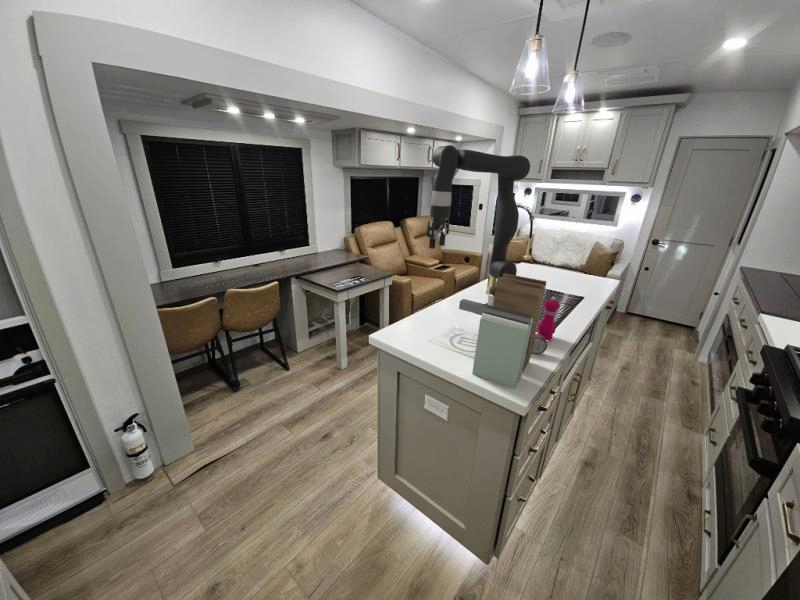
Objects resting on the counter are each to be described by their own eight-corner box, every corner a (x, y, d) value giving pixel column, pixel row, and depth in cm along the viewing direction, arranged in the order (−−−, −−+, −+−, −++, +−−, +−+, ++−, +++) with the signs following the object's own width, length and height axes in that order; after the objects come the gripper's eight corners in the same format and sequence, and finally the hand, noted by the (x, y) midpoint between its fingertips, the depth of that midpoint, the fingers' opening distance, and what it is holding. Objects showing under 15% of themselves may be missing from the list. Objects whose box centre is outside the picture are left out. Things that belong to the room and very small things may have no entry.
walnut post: (491, 349, 131) (504, 272, 120) (529, 361, 124) (547, 280, 112) (484, 358, 124) (497, 277, 112) (523, 372, 117) (542, 286, 105)
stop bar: (462, 306, 115) (463, 298, 114) (530, 324, 103) (532, 315, 102) (458, 308, 113) (459, 301, 112) (528, 327, 101) (530, 318, 100)
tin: (544, 353, 131) (548, 335, 128) (545, 357, 128) (550, 338, 125) (506, 347, 135) (509, 329, 132) (506, 350, 132) (510, 332, 129)
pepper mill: (555, 337, 145) (565, 296, 138) (549, 343, 140) (560, 300, 132) (539, 332, 149) (548, 292, 142) (533, 337, 144) (542, 296, 137)
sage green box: (480, 363, 121) (489, 307, 113) (521, 377, 114) (533, 318, 105) (472, 374, 114) (480, 314, 106) (514, 389, 106) (527, 327, 98)
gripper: (441, 205, 112) (437, 251, 118) (457, 204, 123) (453, 245, 129) (422, 204, 116) (419, 248, 121) (440, 203, 127) (436, 243, 133)
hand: (437, 246), depth 125 cm, fingers open, 8 cm apart
